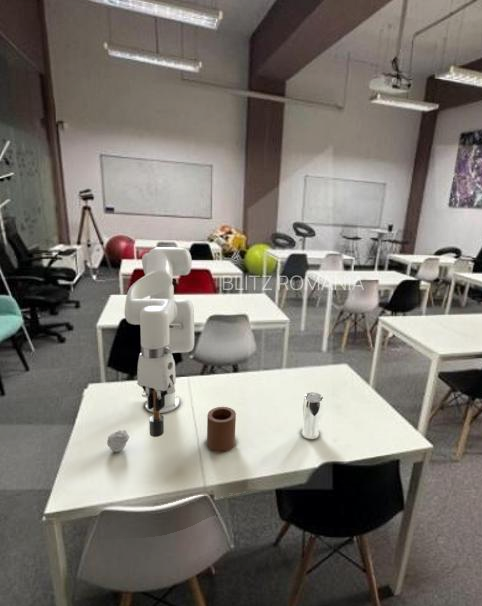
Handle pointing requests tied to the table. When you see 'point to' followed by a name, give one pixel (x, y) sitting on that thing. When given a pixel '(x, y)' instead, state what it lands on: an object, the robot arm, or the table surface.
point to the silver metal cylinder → (312, 414)
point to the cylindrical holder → (221, 429)
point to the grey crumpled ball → (118, 440)
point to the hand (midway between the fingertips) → (156, 407)
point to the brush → (156, 419)
